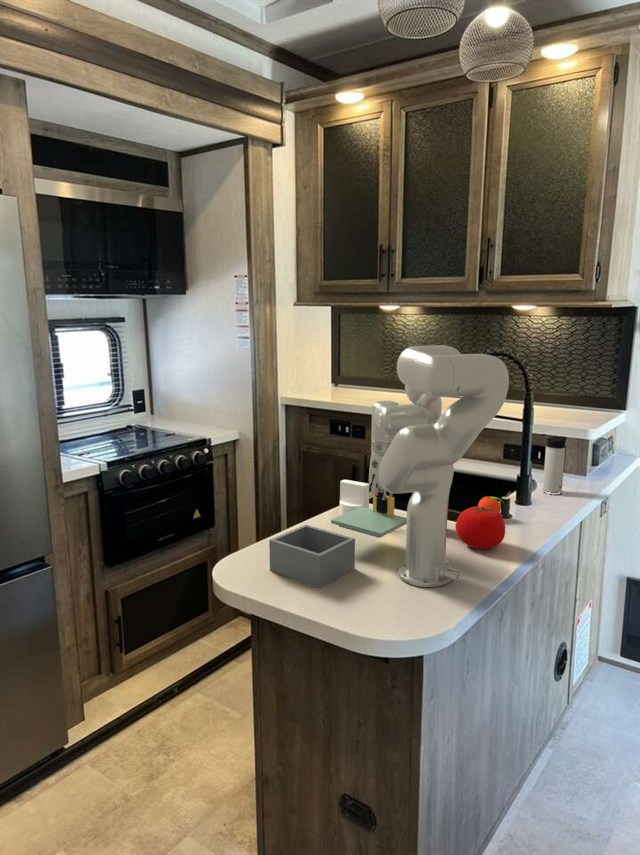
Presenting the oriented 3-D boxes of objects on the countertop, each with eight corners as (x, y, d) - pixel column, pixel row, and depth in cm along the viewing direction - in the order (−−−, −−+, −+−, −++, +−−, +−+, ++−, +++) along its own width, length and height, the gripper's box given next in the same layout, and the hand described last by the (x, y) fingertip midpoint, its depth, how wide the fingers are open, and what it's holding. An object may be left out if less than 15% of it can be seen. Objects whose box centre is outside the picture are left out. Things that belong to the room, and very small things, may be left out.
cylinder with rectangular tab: (333, 521, 189) (334, 483, 187) (349, 513, 197) (349, 477, 194) (359, 527, 184) (359, 488, 182) (374, 518, 192) (374, 481, 189)
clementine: (502, 515, 195) (503, 493, 194) (505, 522, 188) (506, 500, 187) (476, 513, 196) (477, 492, 195) (478, 521, 190) (479, 499, 188)
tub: (354, 568, 155) (355, 538, 154) (319, 588, 145) (319, 556, 143) (305, 553, 165) (305, 524, 164) (269, 570, 155) (269, 539, 153)
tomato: (497, 558, 162) (499, 518, 160) (449, 547, 169) (451, 509, 167) (510, 543, 172) (512, 505, 170) (464, 534, 179) (466, 497, 177)
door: (409, 525, 167) (410, 501, 166) (381, 540, 156) (381, 514, 155) (361, 513, 177) (361, 489, 176) (331, 526, 166) (331, 501, 165)
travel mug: (565, 495, 215) (569, 439, 211) (546, 495, 215) (550, 439, 212) (558, 490, 221) (563, 435, 218) (540, 490, 222) (544, 435, 218)
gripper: (381, 454, 159) (379, 522, 163) (412, 443, 171) (410, 507, 175) (357, 449, 164) (356, 516, 167) (389, 440, 176) (387, 502, 179)
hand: (383, 511), depth 171 cm, fingers closed on door, 1 cm apart
